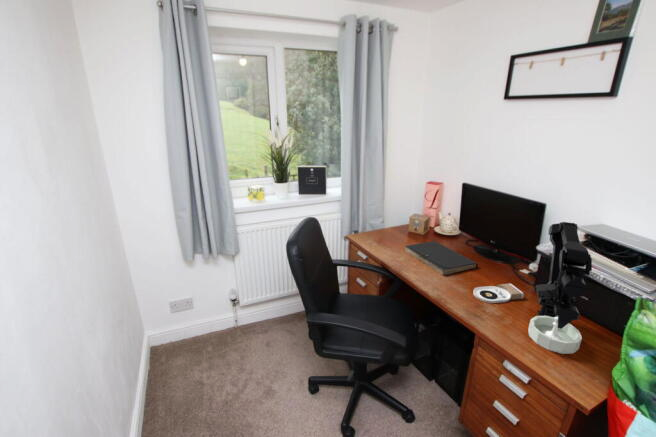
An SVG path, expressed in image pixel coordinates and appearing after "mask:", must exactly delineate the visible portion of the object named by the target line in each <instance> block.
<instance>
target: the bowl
mask: <svg viewBox="0 0 656 437" xmlns="http://www.w3.org/2000/svg"><path fill="white" fill-rule="evenodd" d="M553 322H555V319H554V317H549V316H538V315H536V316H534V317H532V318H531V319H530V320H529V324H528V336H529V337H530V339H532V341H534V343H536V344H537V345H538V346H541V347H542V348H544V349H546V350H548V351H551V352H555V353H559V354H562V355H565V354H575V353H576V352H577V351H578V350H579V349H580V346H581V343H582V339H583V336H582V334H581V332H580V330H579V329H577V328H576V327H575V326H574V325H572V324H571V323H568V324H567V325H566V326H564V327H563V328H562V329H560V328H558V327H557V333H558V334H559V335H560V336H561V340H558V339H554V338H551V337H549V336H547V335H545V333H546V332H547V331H552V329H553V327H554V324H553Z"/></svg>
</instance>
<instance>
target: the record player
mask: <svg viewBox="0 0 656 437" xmlns="http://www.w3.org/2000/svg"><path fill="white" fill-rule="evenodd" d="M472 293H473V296H474V297H475V298H476V299H477V300H480V301H482V302H485V303H489V304H496V303H497V304H498V303H507V302H509V301H511V300H512V301H513V300H522V299H524V296H525V293H524V292H523V291H521V290H520V289H519V288H517V287H516V286H515V285H513V284H512V283H502V284H497V285H496V286H494V285H489V286H488V285H486V286H485V285H484V286H477V287H475V288H473V292H472Z"/></svg>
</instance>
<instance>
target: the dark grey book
mask: <svg viewBox="0 0 656 437" xmlns="http://www.w3.org/2000/svg"><path fill="white" fill-rule="evenodd" d="M404 248H405V249H404V251H405V252H406V253H407V254H409V255H411V256H412V257H413V258H415V259H416V260H419V261H420V262H422V263H423V264H425V265H426V266H428V267H430V268H432V269H433V270H435V271H436V272H437V273H438V274H441V276H446V275H451V274H455V273H458V272H462V271H467V270H470V269H475V268H478V265H479V263H478V262H476V261H474V260H472V259H469V258H468V257H466V256H464V255H462V254H461V253H458V252H457V251H455V250H452V249H451V248H449V247H447V246H445V245H443V244H441V243H439V242H438V241H436V240H433V241H431V240H430V241H427V242H426V241H425V242H420V243H414V244H409V245H405V246H404Z"/></svg>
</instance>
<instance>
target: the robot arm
mask: <svg viewBox="0 0 656 437" xmlns="http://www.w3.org/2000/svg"><path fill="white" fill-rule="evenodd" d="M578 229H579V228H578V224H577V223H574V222H567V221H562V222H559V223H553V224H551V225H550V226H549V228H548V235H549V241H550V243H551V245H552V246H553V247H552V255H551V262H550V273H549V279H548V281H547V283H543V284H542V283H541V284H536V285H535V286H534V287H535V290H536V295H537V301H538V306H539V305H540V310H539V309H537V316H549V317H557V316H558V328H560V329H562V328H563V327H564V326H566V325H567V324H568V323H569V324H571V322H573V321H577V320H579V318H580V312H579V310H578V308H577V307H576V306H575V305H572V304H576V302H577V301H576V299H575V298H582V297H584V296H585V295H586V294H587V293H588V287H587V284H586V282H585V280H584V278H583V277H584V275H585V276H590V273H591V271H592V270H593V264H592V263H593V262H592V260H593V259H592V255H591V254H590V252H589V251H588V248H587V247H586V246H584V245H583V244H581V241H580V238H579V233H578V231H579V230H578Z"/></svg>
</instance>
